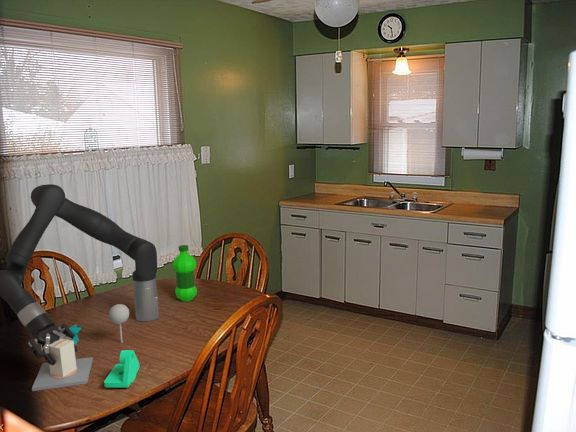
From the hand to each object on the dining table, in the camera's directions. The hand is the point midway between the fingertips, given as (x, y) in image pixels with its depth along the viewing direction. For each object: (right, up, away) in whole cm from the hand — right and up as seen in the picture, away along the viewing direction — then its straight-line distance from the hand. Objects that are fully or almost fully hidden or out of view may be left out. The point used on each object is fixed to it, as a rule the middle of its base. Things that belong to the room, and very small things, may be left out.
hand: (65, 357), depth 164 cm
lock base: (-1, -6, +2) cm, 6 cm away
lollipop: (+10, -1, +24) cm, 26 cm away
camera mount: (+19, -7, -2) cm, 20 cm away
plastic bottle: (+26, +8, +65) cm, 71 cm away
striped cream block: (-1, -5, +2) cm, 5 cm away
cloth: (-12, -1, +28) cm, 30 cm away
